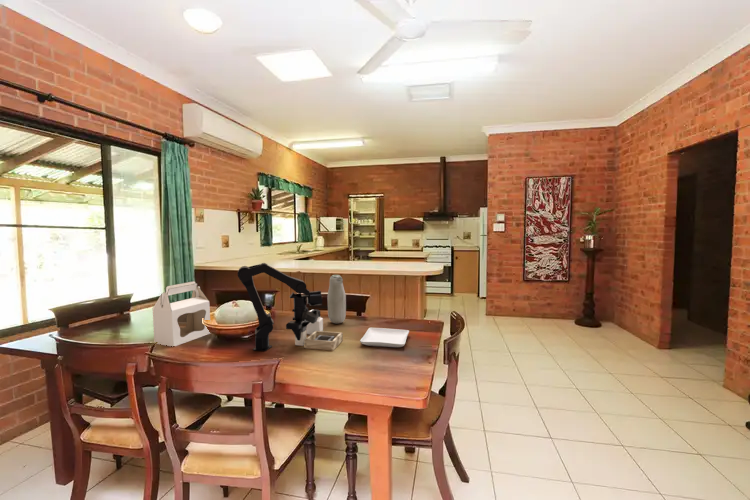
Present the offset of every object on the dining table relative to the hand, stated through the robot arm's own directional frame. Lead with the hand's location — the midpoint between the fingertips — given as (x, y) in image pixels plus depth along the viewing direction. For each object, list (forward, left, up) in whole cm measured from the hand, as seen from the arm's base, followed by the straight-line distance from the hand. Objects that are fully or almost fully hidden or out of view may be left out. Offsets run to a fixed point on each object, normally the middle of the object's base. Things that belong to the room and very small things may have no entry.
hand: (300, 338), depth 166 cm
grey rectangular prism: (0, 0, -2) cm, 2 cm away
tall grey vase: (+37, -6, -3) cm, 38 cm away
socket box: (+2, -11, -3) cm, 11 cm away
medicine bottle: (+18, 0, -3) cm, 18 cm away
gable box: (-3, +62, -3) cm, 62 cm away
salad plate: (+12, -39, -3) cm, 41 cm away
